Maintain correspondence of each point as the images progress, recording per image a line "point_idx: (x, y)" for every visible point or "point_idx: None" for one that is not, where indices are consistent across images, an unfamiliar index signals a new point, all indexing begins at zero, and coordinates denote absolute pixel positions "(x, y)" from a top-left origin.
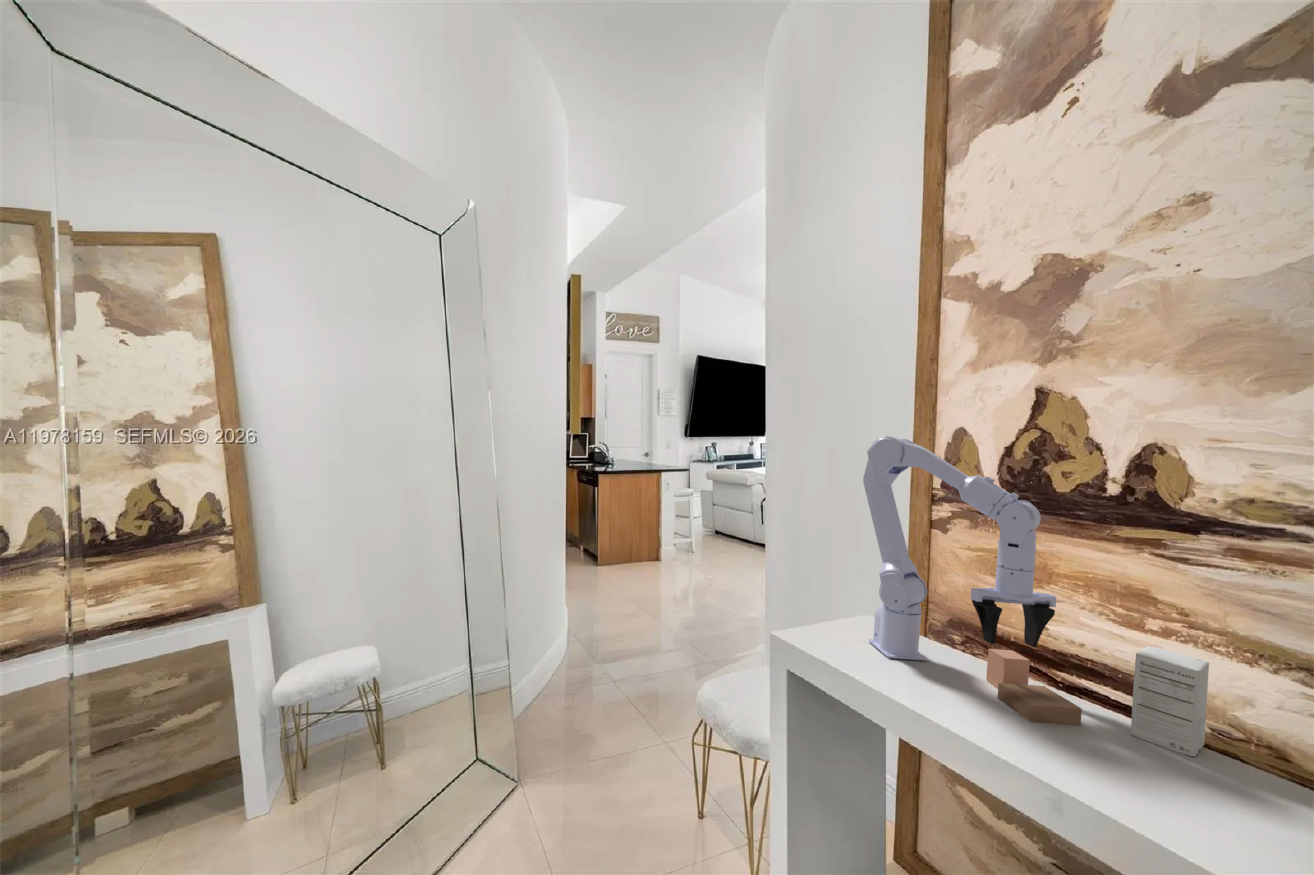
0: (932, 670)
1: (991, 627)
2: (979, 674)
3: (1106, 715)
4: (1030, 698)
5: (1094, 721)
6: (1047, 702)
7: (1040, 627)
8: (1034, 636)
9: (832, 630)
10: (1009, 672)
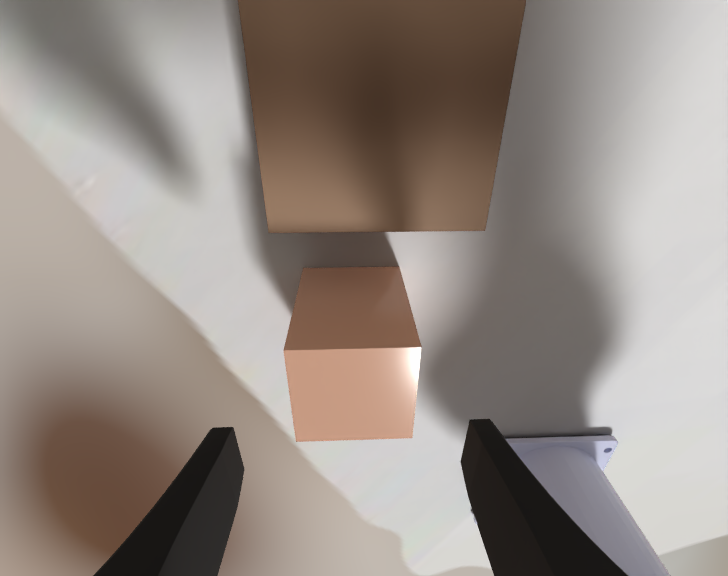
0: (529, 386)
1: (564, 514)
2: None
3: (52, 115)
4: (463, 56)
5: (148, 32)
6: (398, 10)
7: (143, 563)
8: (207, 488)
9: None
10: (384, 307)
